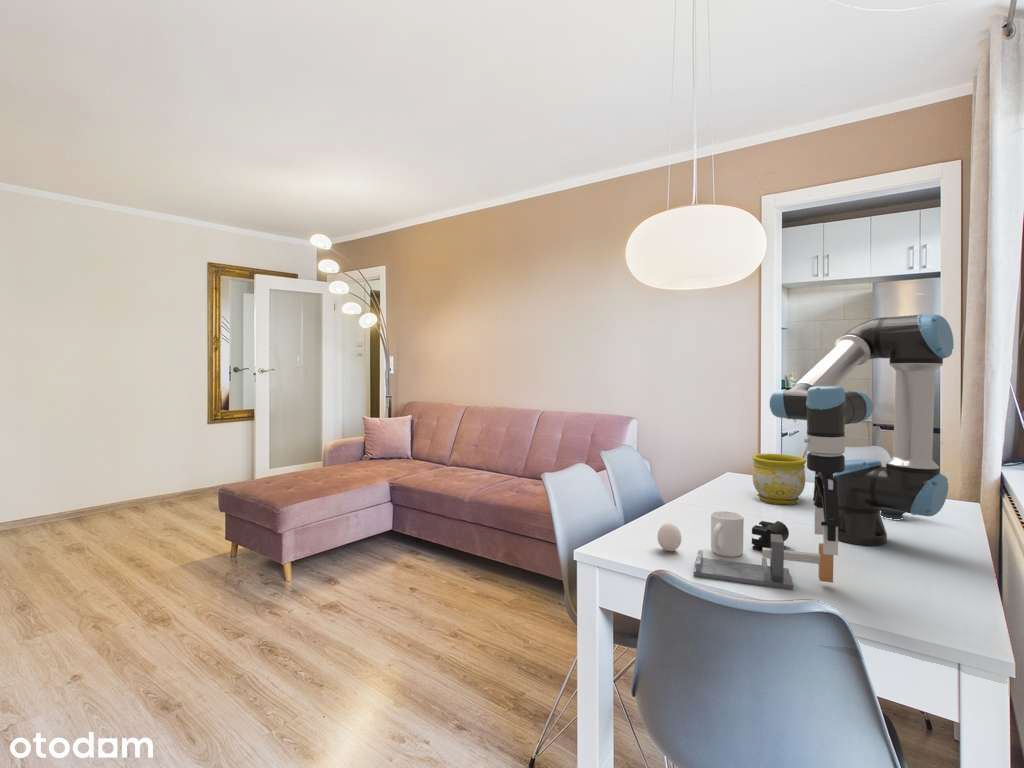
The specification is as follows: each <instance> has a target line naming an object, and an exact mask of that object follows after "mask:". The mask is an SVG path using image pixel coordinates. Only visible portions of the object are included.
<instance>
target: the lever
mask: <svg viewBox="0 0 1024 768" xmlns="http://www.w3.org/2000/svg"><path fill="white" fill-rule="evenodd" d="M761 552H762V553H761V554H762V558H766V559H770V558H772V548H763V551H761ZM834 556H835V555H829V554H824V553H823V543H820V542H819V543H818V553H816V552H815V553H813V552H806V551H805V552H804V551H796V550H787V549H784V561H792V562H799V563H805V564H807V563H808V564H815V565H818V573H817V574H818V580H819V581H820V582H825V583H826V582H827V583H834Z"/></svg>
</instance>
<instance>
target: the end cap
mask: <svg viewBox="0 0 1024 768" xmlns="http://www.w3.org/2000/svg"><path fill="white" fill-rule="evenodd" d="M789 532H790V530H789V528H788V527H787V525H786V524H785V523H783V522H782V521H779V520H776V521H775V522H769V521H764V520H761V521H759V522H758V525H757V524H755V525H754V526H752V528H751V535H755V536H759V537H758V538H754V537H751V544H752V545H753V546H752V547H751V549H752V550H755V551H759V552H762V551H763V548H771V534H777V535H782V538H783V542H784V543H785V542H786V541H787V540H788V538H789V534H790V533H789Z"/></svg>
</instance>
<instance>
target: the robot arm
mask: <svg viewBox="0 0 1024 768" xmlns="http://www.w3.org/2000/svg"><path fill="white" fill-rule="evenodd" d="M954 343H955V342H954V334H953V332H952V328H951V325H950V323H949V322H948V320H947V319H946V318H945V317H944V316H942V315H940V314H914V315H913V314H911V315H902V316H901V315H899V316H887V317H876V318H872V319H869V320H866V321H864V322H862V323H860V324H857V325H856V326H854V327H852V328H850V329H849V330H847V331H845V333H843V334H842V335H841V336H840V337H839V338H838V339H836V340H835V342H834V345H833V348H832V349H831V350H830V351H829V352H828V353H827V354H826V355H825V356H824V357H823V358H821V360H819V362H817V364H815V365H814V366H812V368H811V369H810V370H809V371H808V372H807V373H806V374H805V375H804V376H802V377H801V378H800V379H799V380H798V381H797V382H796V383H795V384H794V385H793V386H792V387H791V388H790V389H785V388H784V389H777V390H775V391H773V393H772V394H771V396H770V398H769V409H770V412H771V414H772V415H773V416H774V417H777V418H782V419H787V420H798V421H799V420H801V421H806V429H807V430H806V436H807V438H804V439H803V442H804V443H807V444H806V450H807V451H808V453H807V454H806V468H807V469H808V470H809V471H812V472H814V488H813V498H812V501H813V502H814V503H813V505H814V535H820V536H823V537H822V539H823V540H822V541H823V542H822V544H823V553H824V554H829V555H834V556H838V555H839V541H840V542H843V543H848V544H853V545H858V546H859V545H860V546H883V545H886V544H887V542H888V533H887V530H886V528H885V525H884V522H883V518H882V517H881V516H880V513H881V511H880V507H881V508H886V509H891V510H896V511H901V512H905V514H906V513H907V514H910V515H912V516H920V517H921V516H923V517H933V516H935V515H937V514H938V513H939V512H940V511H941V510H942V509H943V507H944V505H945V503H946V500H947V497H948V493H949V482H948V481H949V479H948V478H947V476H945V475H944V474H942V473H940V466H939V465H938V464H937V463H936V462H935V461H934V460H933V445H934V444H933V443H934V422H935V421H934V419H935V417H934V415H935V414H934V413H935V394H936V393H935V392H936V391H935V388H936V387H935V385H936V372H937V370H938V369H939V368H941V367H943V364H944V361H943V360H944V359H947V358H949V357H951V355H952V354H953V350H954ZM875 359H889V365H890V366H889V367H892V368H893V369H894V371H895V386H894V388H895V389H894V418H893V419H894V420H893V445H892V446H893V447H892V448H893V449H892V450H893V452H892V456H891V458H889V459H888V460H886V462H885V466H882V465H883V464H882V461H881V460H878V459H870V458H867V459H866V458H863V459H862V458H860V459H857V458H856V459H855V458H854V459H845V456H844V453H846V435H845V427H846V426H845V425H850V424H858V423H861V422H864V421H866V420H868V419H869V418H870V417H871V416H872V414H873V411H874V404H873V400H872V398H871V397H870V396H868V395H867V394H865V393H864V392H862V391H861V392H860V391H855V390H853V391H851V390H850V391H849V390H848V391H845V390H844V388H843V387H841V386H838V385H839V384H841V382H842V381H843V380H844V379H845V378H846V377H847V376H848V375H849V374H851V372H852V371H853V370H854V369H855V368H857V366H861V365H864V364H865V363H866V362H868V361H869V360H875Z"/></svg>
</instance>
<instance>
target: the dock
mask: <svg viewBox="0 0 1024 768" xmlns="http://www.w3.org/2000/svg"><path fill="white" fill-rule="evenodd" d="M771 548H772V558H769V560H770V563H769V565H768V560H767V559H768V558H765V557H761V564H756V563H748V562H739V561H731V560H722V559H716V558H710V557H709V558H708V557H704V556H703V555H704V554H703V553H704V552H703V551H704V550H701V549H698V551H697V555H696V558H695V564H694V568H693V577H697V578H704V579H709V580H710V579H711V580H718V581H723V582H724V581H725V582H731V583H732V582H733V583H741V584H745V585H746V584H747V585H753V586H760V587H766V588H768V587H769V588H775V589H783V590H789V591H794V583H793V580H792V576H791V572H790V568H787V567H784V564H785V560H784V550H785V541H784V542H783V538H782V535H777V534H771Z"/></svg>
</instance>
